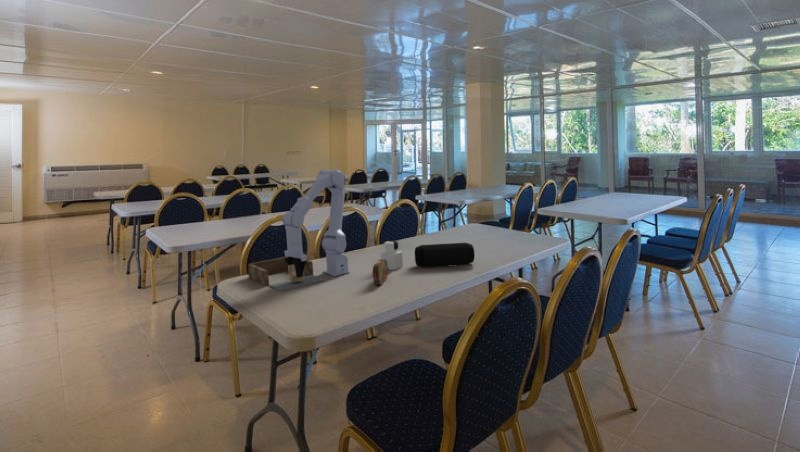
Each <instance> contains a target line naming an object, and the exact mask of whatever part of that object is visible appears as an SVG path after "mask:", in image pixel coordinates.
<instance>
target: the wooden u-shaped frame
mask: <svg viewBox="0 0 800 452" xmlns="http://www.w3.org/2000/svg"><path fill="white" fill-rule="evenodd" d="M284 258H286V256H282V257H278V258H277V257H276V258H273V259H267V260H262V261H256V262H251V263H247V272H248V278H249V279H251V280H252V281H255V282H256V283H259V284H260V285H263V286H264V287H270V281H269V280H270V279H269V278H270V277H269V275H272V274H273V275H274V274H277V273H283V272H286V271H288V265H287V263H286V261H285V260H284ZM304 275H307V276H311V275H313V276H314V264H313V261H311V260H309V259H307V262H306V264H305V267H304Z"/></svg>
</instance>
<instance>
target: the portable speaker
mask: <svg viewBox="0 0 800 452" xmlns="http://www.w3.org/2000/svg"><path fill="white" fill-rule="evenodd" d="M475 256H476V254H475V249H474V245H473V244H472V243H468V242H455V243H453V242H451V243H435V244H421V245H418V246H415V248H414V261H415V264H416V266H417V267H421V268H436V267H437V266H439V267H450V266H449V265H456V266H465V265H470V264H472V263H473V262H474V261H475Z"/></svg>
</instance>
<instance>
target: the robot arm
mask: <svg viewBox="0 0 800 452" xmlns="http://www.w3.org/2000/svg"><path fill="white" fill-rule="evenodd" d="M345 177H346V176H345V175H344V174H343V172H342V171H341V170H339V169H321V170H320V171H319V172H318V174H317V175H316V177H315V181H314V182H313V184H312V185H311V187H309V190H308V191H307V193H306V194H305V195H304V196H300V197H298V198H297V199H296V200H297V201H296V203H294V205H293V206H292V207H291V208H290V210H289V211H287V212H285V213H284V215H283V217H282V219H281V222H282V224H283V225H284V228H285V232H286V245H287V246H286V247H287V250H284V257H286V258H284V260H285V261H286V263H287V265H293V264H294V266H295V270H296V275H297V277H302V276H303V271H304V267H305V264H306V262H307V260H308V258H307V255H306V254H305V253H304V252H303V237H302V236H303V235H302V225H304V221H305V217H306V215H307V214H308V212H309V211H310V210H311V208H312V207H313V201H314V200H315V199H316V198H317V196H319V194H320V193H321V192H322V191H323V190H324V189H328V190H329V191H330V193H331V198H330V207H329V208H330V210H329V212H330V213H329V219H328V230H326V231H325V232H324V234H323V238H322V240H321V247H322V249H323V250H324V253H325V257H326V258H325V260H326V269H325V270H323V271H322V272H323V273H324V274H328V275H331V276H334V277H336V276H341V275H345V274H349V273H351V271H350V270H349V261H348V260H349V259H348V256H346V255H345V254H344V252H345V250H346V248H347V241H346V233H344V232H343V230H342V229H343V227H342V226H343V216H344V209H345V208H344V207H345V205H344V204H345V197H346V196H345V194H346V188H345V180H346V179H345Z"/></svg>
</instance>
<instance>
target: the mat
mask: <svg viewBox="0 0 800 452" xmlns="http://www.w3.org/2000/svg"><path fill="white" fill-rule="evenodd" d="M324 281H325V279H323V278H321V277H318V276H316V275H314V274H313V275H311V276H309V275H307V276H305V280H302V281H298V282H293V281H290V280H289V279H288V280H285V281H281V282H275V283H272V284H269V287H270V288H271V289H275V290H277V291H278V292H283V291H287V290H293V289H296V288H300V287H304V286H308V285H313V284H317V283H321V282H324Z"/></svg>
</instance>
